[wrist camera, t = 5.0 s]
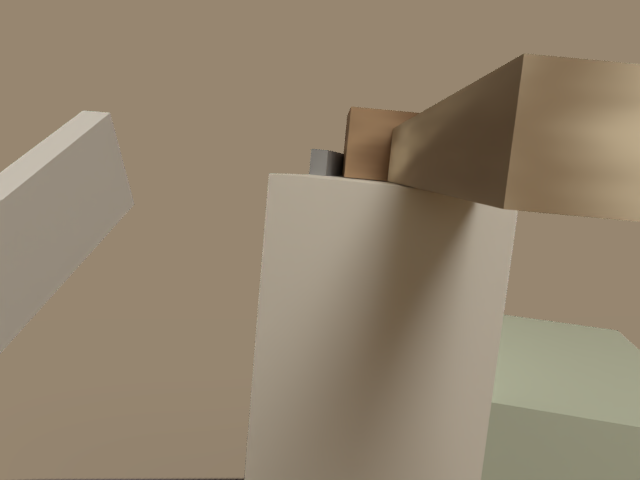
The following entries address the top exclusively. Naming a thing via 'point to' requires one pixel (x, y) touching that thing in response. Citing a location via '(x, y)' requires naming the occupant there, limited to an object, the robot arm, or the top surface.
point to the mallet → (516, 140)
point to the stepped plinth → (420, 347)
